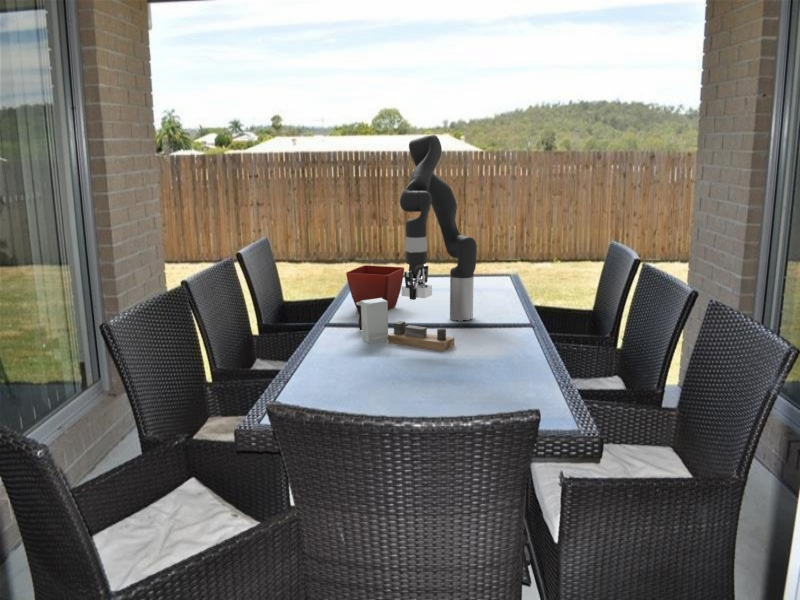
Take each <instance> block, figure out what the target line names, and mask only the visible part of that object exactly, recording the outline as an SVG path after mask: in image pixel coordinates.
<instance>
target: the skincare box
mask: <svg viewBox="0 0 800 600" xmlns="http://www.w3.org/2000/svg"><path fill="white" fill-rule="evenodd" d="M388 311H389V310H388V301H386V300H384V299H382V298H376V299H370V300H363V301H361V318H362V331H361V338H362V341H364V342H365V343H367V344H374V343H379V342H388V335H389V319H388V317H389V314H388V313H389V312H388Z"/></svg>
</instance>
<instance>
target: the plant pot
mask: <svg viewBox="0 0 800 600" xmlns="http://www.w3.org/2000/svg"><path fill="white" fill-rule="evenodd" d="M404 272H405V267H404V266H402V267H401V266H387V265H386V266H385V265H369V264H368V265H367V264H366V265H365V264H364V265H361V266H359V267H355V268H354V269H352V270H349V271H346V272H345V275H346V279H347V283H348V288H349V290H350V294H351V298H352V300H353V302H354V306H355V308H356V309H357V306H356V303H357V302H361V301H363V300H370V299H376V298H382V299H384V300H386V301H388V311H391V309H394V308H395V307H396V306H397V304H398V299H399V297H400V294H401V291H402V286H403V279H404Z"/></svg>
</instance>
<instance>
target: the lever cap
mask: <svg viewBox="0 0 800 600" xmlns="http://www.w3.org/2000/svg"><path fill="white" fill-rule="evenodd" d="M408 284H409V282H408ZM413 285H414V283H413ZM431 296H433V285H431V284H425V285H424V284H417V285H416V299H427V298H428V297H431ZM401 297H407V298H410V293H409V288H406V285H405V284H404V285H403V284H402V286H401Z"/></svg>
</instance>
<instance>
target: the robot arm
mask: <svg viewBox="0 0 800 600" xmlns="http://www.w3.org/2000/svg"><path fill="white" fill-rule="evenodd" d="M408 149H409V150H408V151H409V153H410V156H411V159H412V161H413V164H414V166H415V168H414V169H413V171H412V173H411V175H410V178H409V183H408V185H407V186H406V187H405V188H404V189H403V191H402V193H401V195H400V197H399V205H400V208H401V210H402V211H404V212H407V213H409V212H410V213H411V212H412V213H414V212H415V213H420V214H419V216H417V217H414V218H409V219H407V220H406V222H405V243H404V248H405V249H404V250H405V252H404V253H405V264H407V265H408V270H407V271H405V270H404V275H403V277H404V283H405V284H404V285H406V288H409V293H410V297H409V299H410V301H411V300H412V301H414V300H415V301H416V299H417V297H416V285H417V284H424V285H426V283H428V278H429V265H425V264H427V263H428V238H427V222H428V216H429V213H430V209H433V212H434V214H435V217H436V220H437V223H438V226H439V229H440V232H441V235H442V238H443V243H444V246H445V250H446V252H447V254H448V255H449V257H452V258H453V259H456V260H457V264H456V266H455V267H452V268H451V269H450V271H449V274H450V275H449V278H450V279H449V320H451V321H456V320H458V321H457V322H464V321H463V320H468V321H471V320H470V319H472V318H473V319H474V277H475V276H474V275H475V274H474V273H475V271H476V267H477V256H478V255H477V254H478V249H477V248H478V246H477V242H476V240H475V239H474V238H473V237H472V236H471V237H470V236H466V235H461V233H460V232H459V229H458V228H459V227H458V226H457V222H456V216H457V210H458V205H457V200H456V197H455V194H454V192H453V189H452V188H451V186H450V185H449V184H448V183H447V182H446V181H444V180H443V179H442V178H440V177H439V176H438V175H436V173H434V171H435V170H436V167H437V165H438V163H439V161H440V159H441V157H442V149H443V148H442V144H441V140H440V139H439V137H438V136H437V135H435V134H427V135H424V136H422V137H418V138H414V139H412V140H411V141H409V144H408ZM408 283H409V284H408ZM413 284H414V285H413ZM473 319H472V320H473Z"/></svg>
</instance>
